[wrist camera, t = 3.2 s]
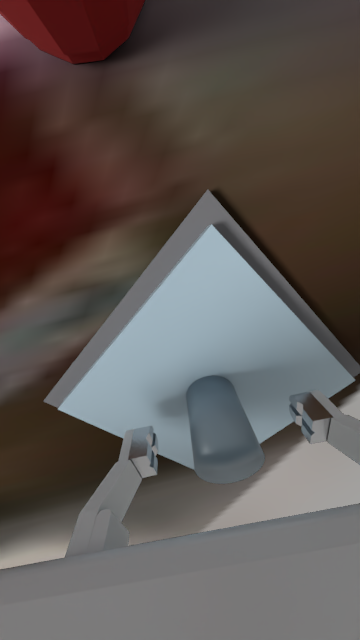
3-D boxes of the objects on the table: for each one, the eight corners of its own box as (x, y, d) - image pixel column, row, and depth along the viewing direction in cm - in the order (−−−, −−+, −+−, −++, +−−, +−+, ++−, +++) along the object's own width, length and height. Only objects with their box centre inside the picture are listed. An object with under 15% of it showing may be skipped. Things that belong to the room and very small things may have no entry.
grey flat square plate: (206, 467, 18) (207, 474, 17) (48, 394, 13) (43, 401, 12) (355, 365, 13) (364, 370, 13) (205, 192, 8) (207, 189, 8)
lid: (207, 466, 16) (222, 548, 12) (64, 399, 12) (4, 489, 8) (344, 372, 13) (438, 441, 8) (207, 225, 8) (251, 208, 4)
